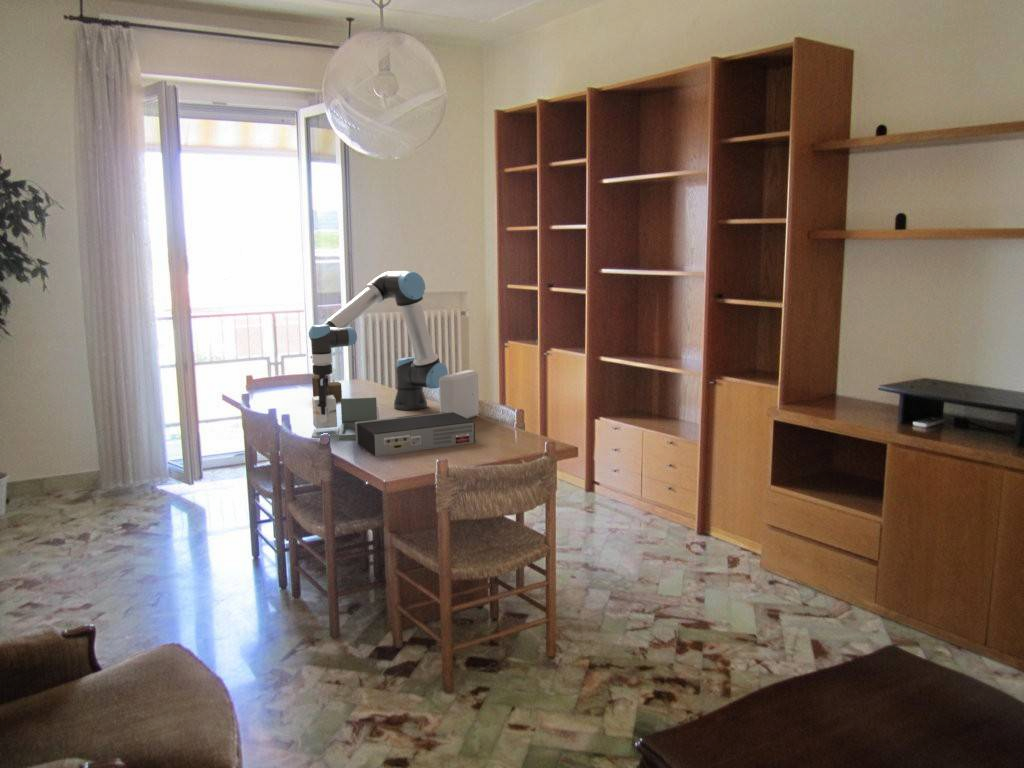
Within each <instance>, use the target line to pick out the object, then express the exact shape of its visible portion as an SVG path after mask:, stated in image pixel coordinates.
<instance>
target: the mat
mask: <svg viewBox="0 0 1024 768" xmlns="http://www.w3.org/2000/svg"><path fill="white" fill-rule="evenodd" d="M339 431H340V428H338V427H332V428H319V429H316V428H314V429H313V432H312V433H311V438H320V437H319V436H320V435H321V434H323V433H328V434H329V435H330V437H329V438H332V437H333V438H335V437H337V438H338V434H339Z"/></svg>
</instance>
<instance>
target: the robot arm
mask: <svg viewBox="0 0 1024 768" xmlns="http://www.w3.org/2000/svg"><path fill="white" fill-rule="evenodd" d="M425 290H426V284H425V280H424V279H423V277H422V276H421V274H419V273H418V272H416V271H411V270H389V271H385V272H383V273H380V275H378V276H376V277H375V278H374V279H372V280H371V281H370V282H368V283H367V284H366V285H365V286H364V289H363V290H362V291H361V292H360V293H358V294H357V295H356V296H355V297H353V298H352V299H351V300H350V301H349V302H347V303H346V304H345V305H343V306H342V307H341V308H340V309H339V310H337V311H336V312H335V313H333V314H332V315H331V316H330V317H329V318H328V319H326V320H325V321H324V322H322V323H321V324H313V325H311V327H310V328H309V331H308V338H309V339H310V342H311V343H310V344H311V356H310V358H311V359H312V362H311V363H312V374H313V376H314V375H319V378H318V389H319V405H318V407H320V423H324V422H327V406H326V395H329V393H328V383H329V377H328V376H329V375H331V374H332V373H333V365H332V363H333V357H332V356H333V355H332V354H333V353H332V349H333V348H342V347H349V346H353V345H355V344H356V343H357V339H358V336H357V331H356V330H355V329H354V328H353V327H350V325H352V323H354V322H355V321H356V320H357V319H358V318H359V317H361V316H362V315H364V314H365V312H367V311H368V310H369V309H371V308H372V307H373V306H375V304H380V303H382V302H384V301H385V300H387V299H390V298H391V299H395V303H396V306H397V307H399V308H401V311H402V315H403V318H404V319H403V320H404V321H405V322H404V323H405V326H406V330H407V333H408V336H409V339H410V340H409V341H410V344H411V348H412V351H413V354H414V356H411V357H410V356H409V357H402V358H399V359H397V360H396V366H395V370H396V389H397V390H396V391H397V392H396V394H395V397H394V398H395V399H394V402H393V408H394V409H395V408H396V409H395V410H401V411H414V410H415V411H416V410H423V409H426V408H427V407H428V401H427V399H426V395H425V393H424V389H423V388H427V389H439V379H440V378H441V377H442V376H446V375H449V371H448V367H447V366H446V364H444V363H443V362H441V361H440V358H439V355H438V354H437V353H435V352H434V349H433V344H432V340H431V337H430V332H429V330H428V326H427V325H428V324H427V322H426V318H425V315H424V314H425V313H424V310H423V307H422V301H423V300H424V294H425ZM321 402H324V403H321Z"/></svg>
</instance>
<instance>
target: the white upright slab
mask: <svg viewBox="0 0 1024 768" xmlns="http://www.w3.org/2000/svg"><path fill="white" fill-rule="evenodd" d="M438 391H439V412H448V411H453V412H454V413H456V414H458V415H461V416H463V417H465V418H467V419H471V418H475V417H477V416H478V415H479V413H480V408H479V407H480V406H479V374H478V372H477V371H476V370H473V369H472V370H471V369H465V370H463V371H457V372H455V373H451V374H448V375H446V376H442V377H441V378H440V379H439V388H438ZM472 394H473V395H472Z"/></svg>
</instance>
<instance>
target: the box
mask: <svg viewBox="0 0 1024 768" xmlns="http://www.w3.org/2000/svg"><path fill="white" fill-rule="evenodd" d="M475 429H476V424H475V421H474V420H471V418H469V419H467V418H465V417H463V416H461V415H458V414H456V413H454V412H453V411H448V412H440V411H439V412H430V413H423V414H422V413H421V414H415V415H406V416H397V417H389V418H388V417H387V418H379V419H377V420H369V421H360V422H355V428H354V430H355V434H356V440H355V443H356V445H357V446H359V447H361V448H362V449H363V450H365V452H368V453H370V455H372V456H373V457H378V456H386V455H394V454H401V453H407V452H414V451H422V450H423V451H424V450H429V449H438V448H446V447H451V446H459V445H466V444H467V445H468V444H474V443H475V444H476V430H475Z"/></svg>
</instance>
